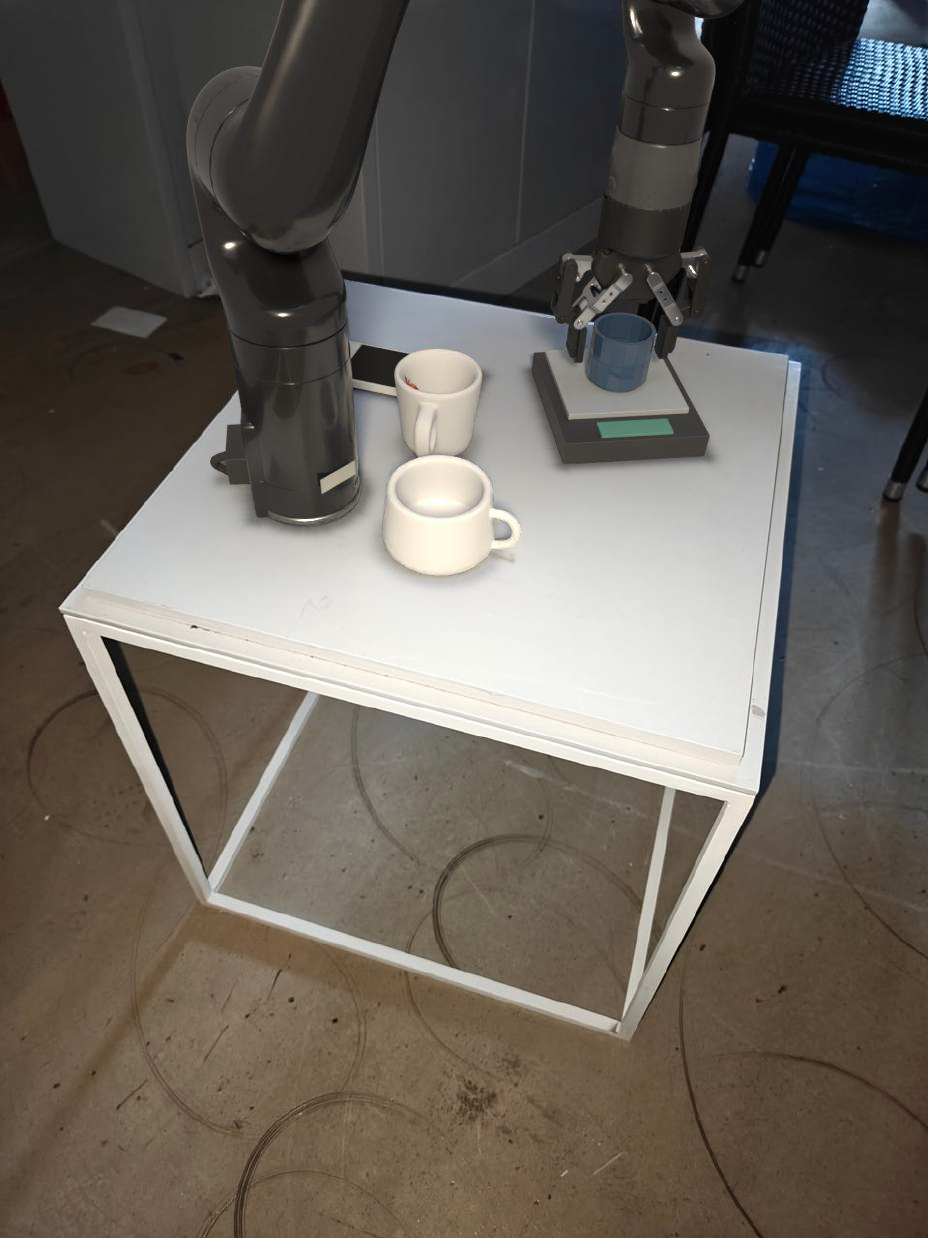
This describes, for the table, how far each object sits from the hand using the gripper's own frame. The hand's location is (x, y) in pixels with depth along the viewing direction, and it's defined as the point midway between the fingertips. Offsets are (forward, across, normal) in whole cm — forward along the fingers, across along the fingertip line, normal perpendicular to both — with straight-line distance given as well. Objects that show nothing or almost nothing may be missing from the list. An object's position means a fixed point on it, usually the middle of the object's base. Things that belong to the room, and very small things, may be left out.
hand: (618, 356), depth 88 cm
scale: (+5, 0, +2) cm, 6 cm away
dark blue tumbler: (+2, 0, 0) cm, 2 cm away
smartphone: (+6, +21, -6) cm, 23 cm away
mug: (+6, +19, +20) cm, 28 cm away
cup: (+6, +19, +6) cm, 21 cm away
